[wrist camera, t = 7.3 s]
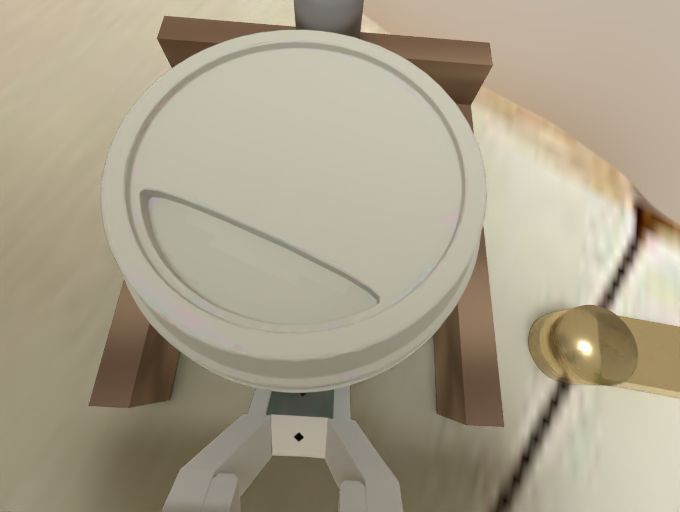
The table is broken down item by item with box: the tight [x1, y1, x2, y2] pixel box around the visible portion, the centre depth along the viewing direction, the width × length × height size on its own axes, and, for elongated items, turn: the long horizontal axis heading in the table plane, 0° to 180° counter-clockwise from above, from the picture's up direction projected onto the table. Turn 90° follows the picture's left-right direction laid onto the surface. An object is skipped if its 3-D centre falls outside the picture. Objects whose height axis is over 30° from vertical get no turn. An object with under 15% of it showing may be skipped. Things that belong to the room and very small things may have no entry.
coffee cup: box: [101, 30, 487, 393], centre depth 12 cm, size 8×8×12 cm
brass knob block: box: [528, 305, 680, 398], centre depth 16 cm, size 8×4×2 cm, turn 80°
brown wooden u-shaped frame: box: [89, 0, 504, 427], centre depth 15 cm, size 18×16×9 cm
